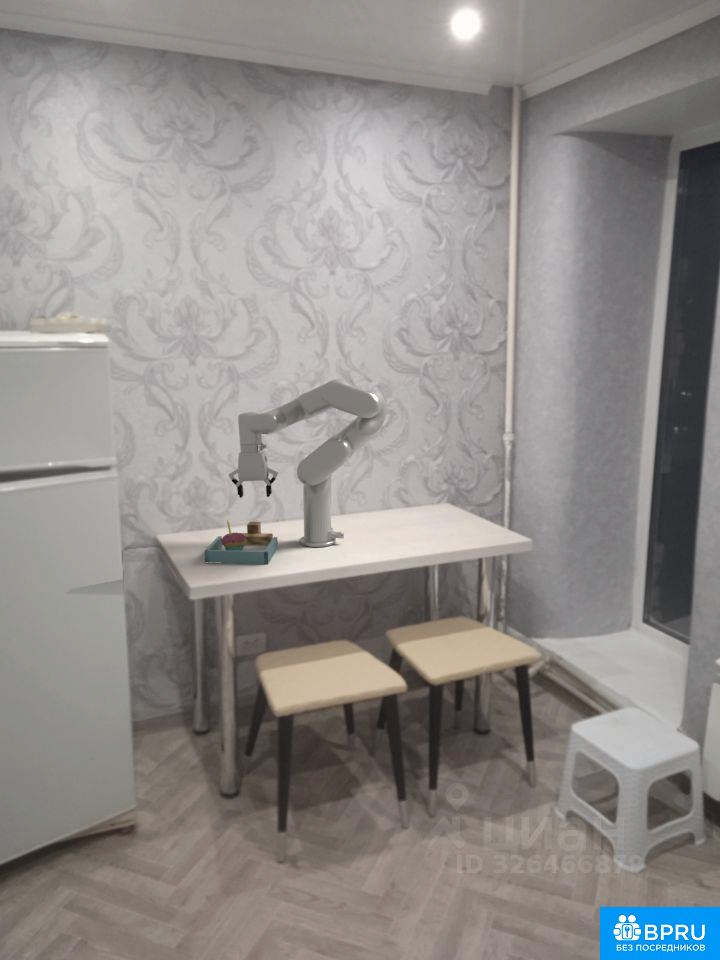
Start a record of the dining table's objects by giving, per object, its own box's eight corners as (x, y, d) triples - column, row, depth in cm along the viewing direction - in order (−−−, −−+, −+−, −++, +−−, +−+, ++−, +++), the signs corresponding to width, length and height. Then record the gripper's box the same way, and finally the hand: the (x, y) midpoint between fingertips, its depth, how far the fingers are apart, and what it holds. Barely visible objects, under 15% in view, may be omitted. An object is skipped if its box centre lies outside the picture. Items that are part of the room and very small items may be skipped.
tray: (277, 548, 248) (277, 537, 247) (267, 564, 231) (267, 552, 230) (218, 547, 249) (218, 536, 249) (204, 563, 233) (204, 551, 232)
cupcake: (226, 559, 237) (224, 523, 234) (218, 552, 244) (216, 517, 242) (251, 555, 241) (250, 520, 238) (242, 548, 248) (241, 514, 246)
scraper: (274, 538, 260) (274, 522, 259) (270, 545, 252) (270, 528, 251) (236, 537, 261) (235, 521, 260) (231, 544, 253) (230, 527, 252)
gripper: (278, 445, 255) (281, 493, 258) (229, 447, 256) (233, 495, 260) (274, 449, 248) (277, 498, 251) (224, 450, 249) (228, 499, 252)
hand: (255, 496), depth 255 cm, fingers open, 9 cm apart
